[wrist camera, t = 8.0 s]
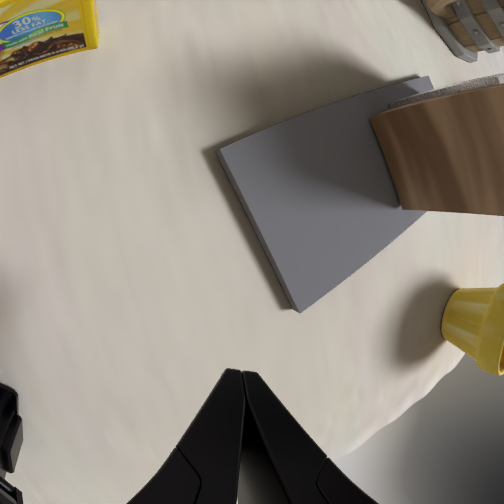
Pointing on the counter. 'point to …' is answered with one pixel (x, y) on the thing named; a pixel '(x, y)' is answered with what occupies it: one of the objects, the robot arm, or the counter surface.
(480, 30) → the tankard
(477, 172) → the wood block
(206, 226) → the counter surface
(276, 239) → the mat
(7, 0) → the candy box
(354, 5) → the counter surface
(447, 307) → the plant pot
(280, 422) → the robot arm
